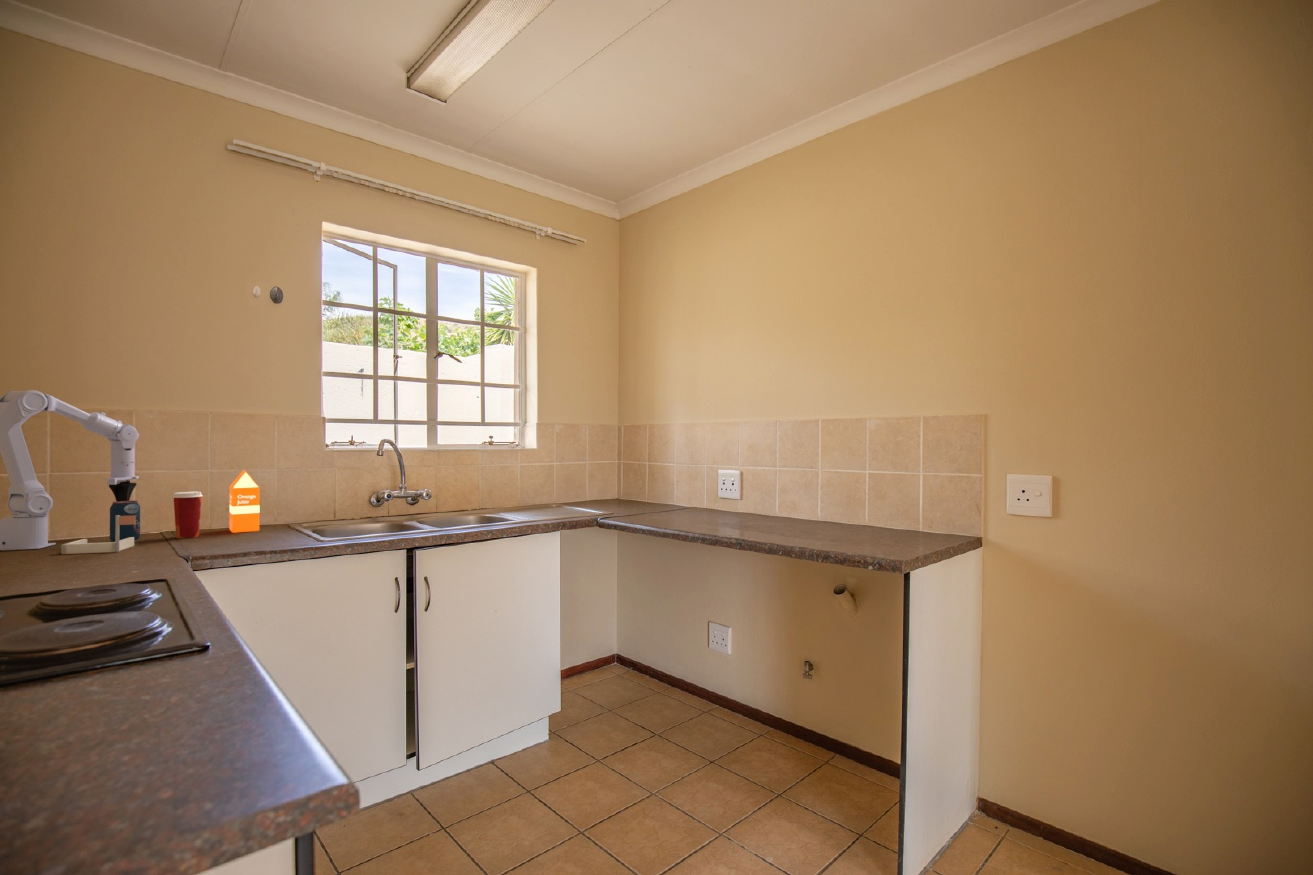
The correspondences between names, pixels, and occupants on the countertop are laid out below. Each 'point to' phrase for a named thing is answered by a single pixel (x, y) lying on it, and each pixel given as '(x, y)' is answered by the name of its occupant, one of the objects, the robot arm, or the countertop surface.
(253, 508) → the orange juice
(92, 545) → the shallow cream tray
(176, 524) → the paper cup
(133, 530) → the soda can
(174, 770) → the countertop surface
